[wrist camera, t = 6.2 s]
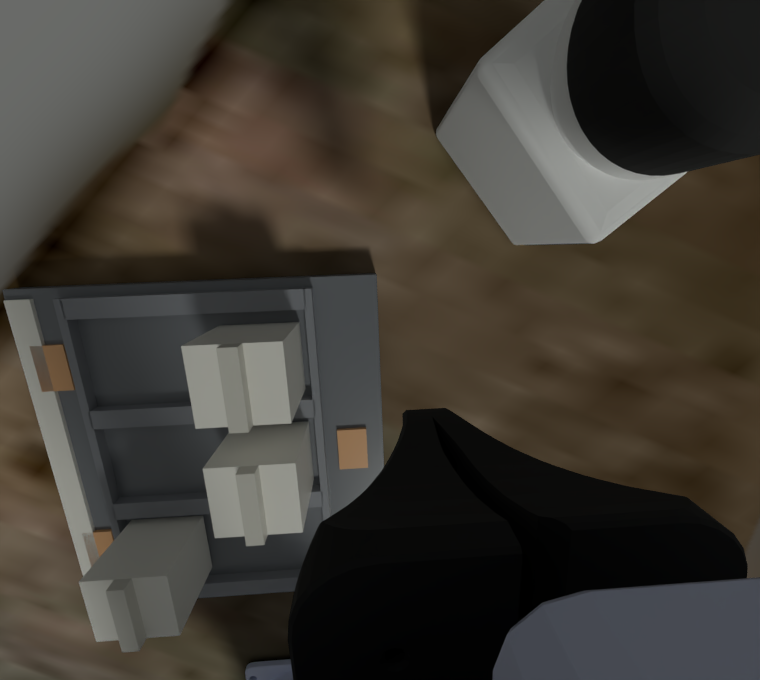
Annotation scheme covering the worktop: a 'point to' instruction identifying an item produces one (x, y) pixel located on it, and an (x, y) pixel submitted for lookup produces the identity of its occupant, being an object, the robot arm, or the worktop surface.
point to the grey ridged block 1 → (147, 580)
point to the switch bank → (174, 411)
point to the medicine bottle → (604, 111)
